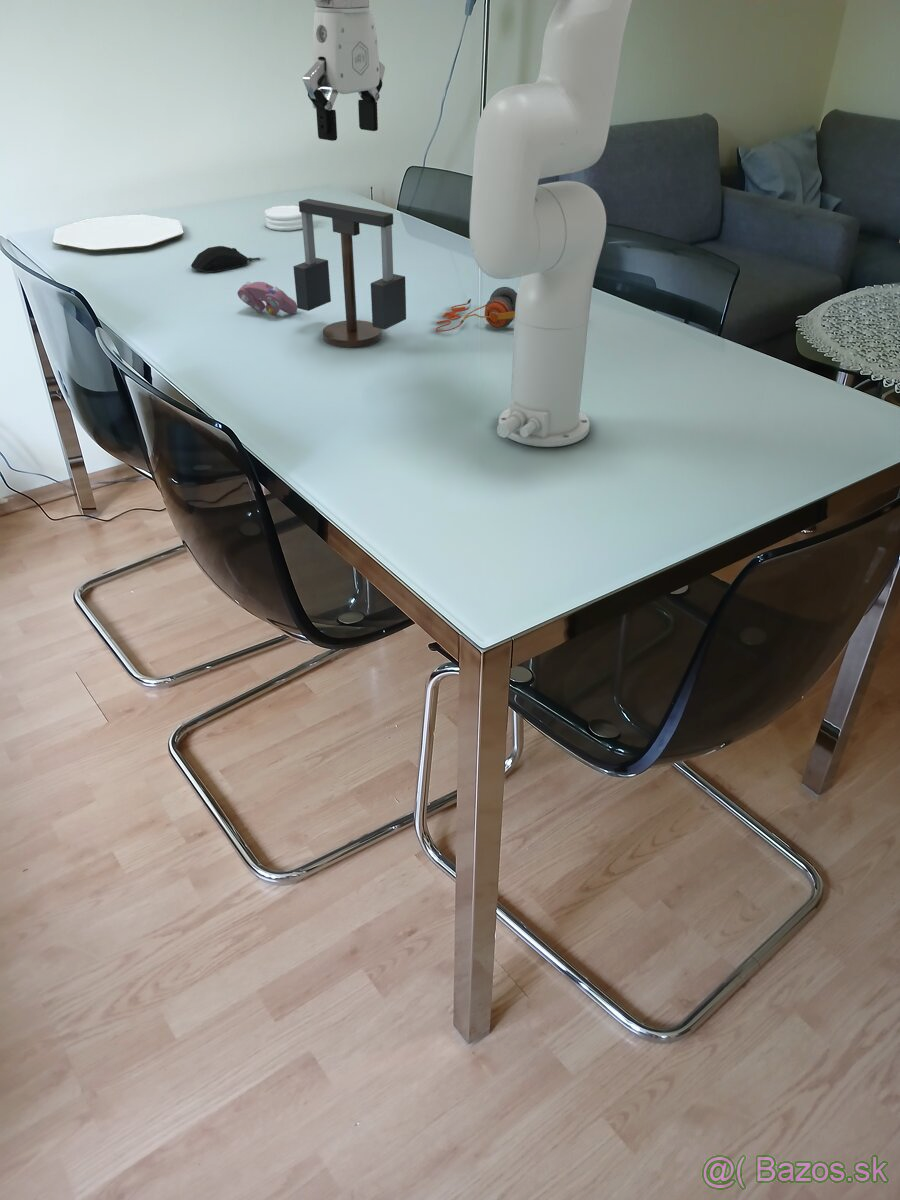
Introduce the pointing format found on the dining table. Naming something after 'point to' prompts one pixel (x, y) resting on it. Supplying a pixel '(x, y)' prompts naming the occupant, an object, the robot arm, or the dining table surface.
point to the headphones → (489, 309)
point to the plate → (117, 232)
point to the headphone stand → (349, 298)
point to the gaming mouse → (219, 259)
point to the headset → (315, 271)
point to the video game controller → (266, 298)
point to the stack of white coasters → (283, 218)
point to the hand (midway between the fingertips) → (348, 134)
